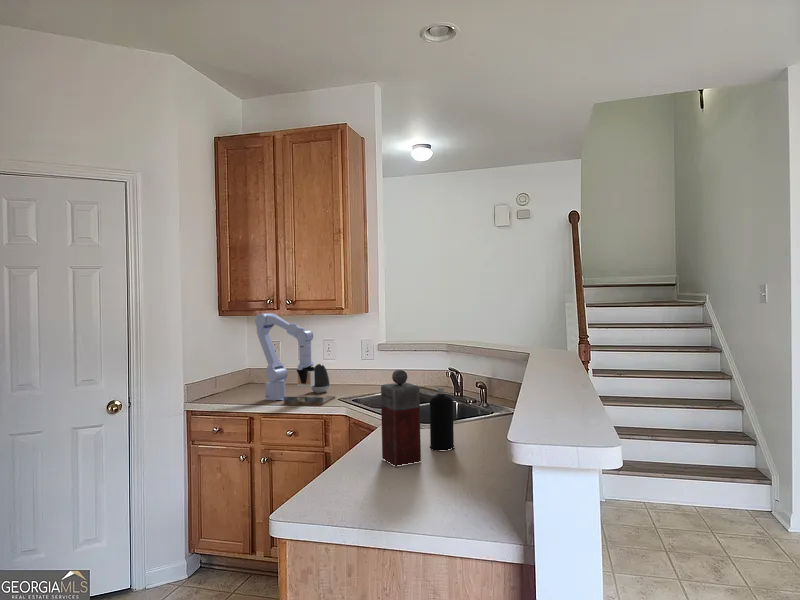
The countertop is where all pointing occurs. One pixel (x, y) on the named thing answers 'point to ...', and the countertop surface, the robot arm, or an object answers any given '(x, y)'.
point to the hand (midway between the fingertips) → (305, 382)
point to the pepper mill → (400, 421)
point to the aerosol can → (441, 421)
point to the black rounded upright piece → (320, 379)
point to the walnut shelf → (308, 399)
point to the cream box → (309, 381)
